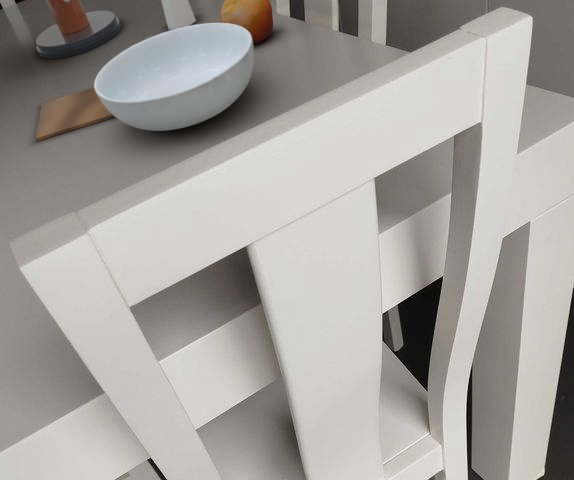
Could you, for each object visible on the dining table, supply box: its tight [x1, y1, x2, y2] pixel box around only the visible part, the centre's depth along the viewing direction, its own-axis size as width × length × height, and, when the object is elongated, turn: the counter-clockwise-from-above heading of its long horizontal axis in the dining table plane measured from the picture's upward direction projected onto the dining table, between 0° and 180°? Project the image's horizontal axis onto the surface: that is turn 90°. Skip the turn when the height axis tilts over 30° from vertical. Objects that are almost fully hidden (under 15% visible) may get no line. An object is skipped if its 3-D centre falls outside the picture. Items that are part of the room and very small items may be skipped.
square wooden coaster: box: [34, 87, 116, 142], centre depth 87 cm, size 12×12×1 cm
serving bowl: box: [93, 22, 255, 132], centre depth 77 cm, size 21×21×7 cm
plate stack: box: [35, 10, 122, 60], centre depth 109 cm, size 16×16×2 cm
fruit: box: [219, 0, 274, 44], centre depth 90 cm, size 8×8×8 cm
